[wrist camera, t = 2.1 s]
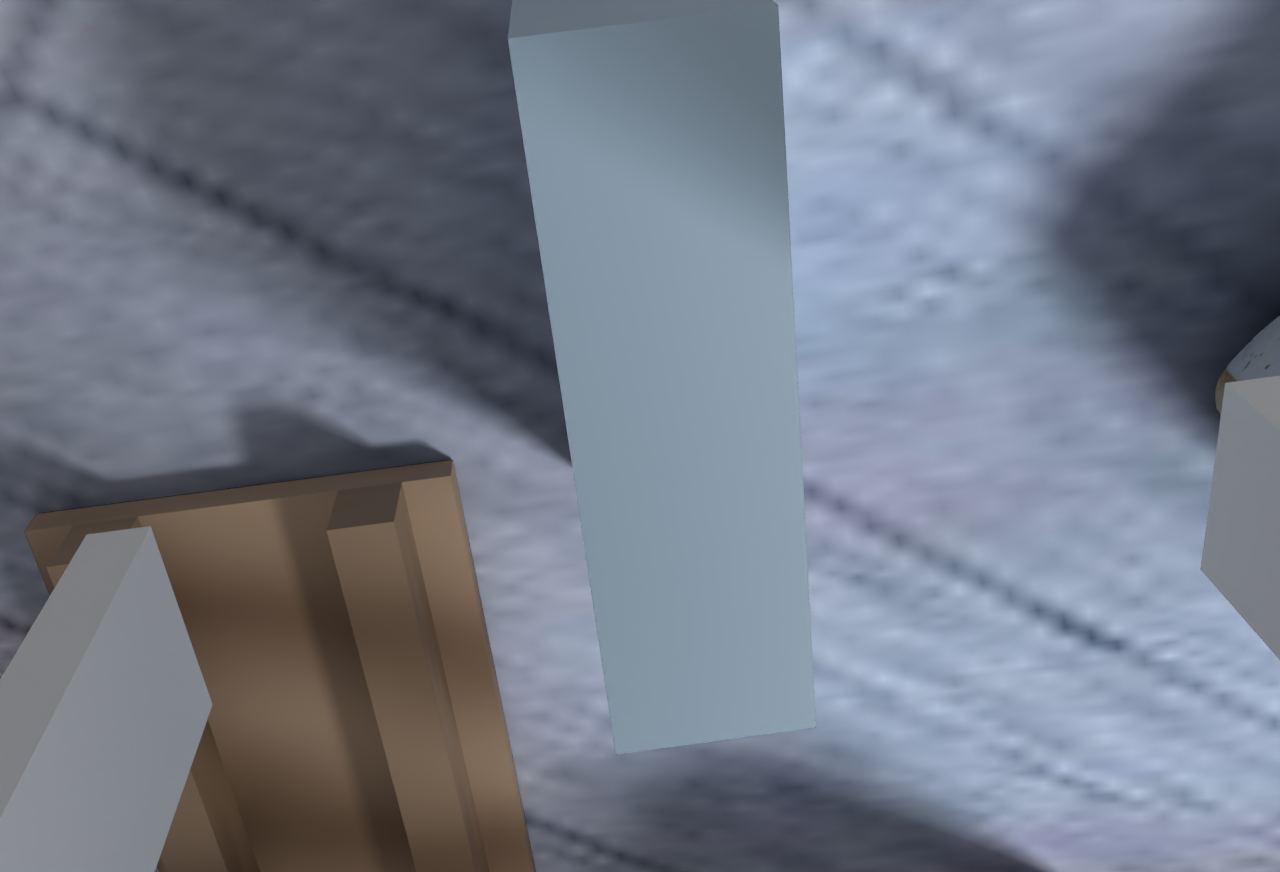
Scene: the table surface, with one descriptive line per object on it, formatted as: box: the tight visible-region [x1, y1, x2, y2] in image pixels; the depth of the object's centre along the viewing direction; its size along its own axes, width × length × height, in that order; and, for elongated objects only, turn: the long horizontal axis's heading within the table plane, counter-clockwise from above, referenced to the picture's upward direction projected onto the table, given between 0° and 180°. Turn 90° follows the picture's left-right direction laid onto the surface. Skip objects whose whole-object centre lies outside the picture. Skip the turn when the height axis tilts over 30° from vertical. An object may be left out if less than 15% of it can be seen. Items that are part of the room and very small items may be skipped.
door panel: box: [508, 0, 816, 755], centre depth 23 cm, size 12×4×10 cm, turn 6°
